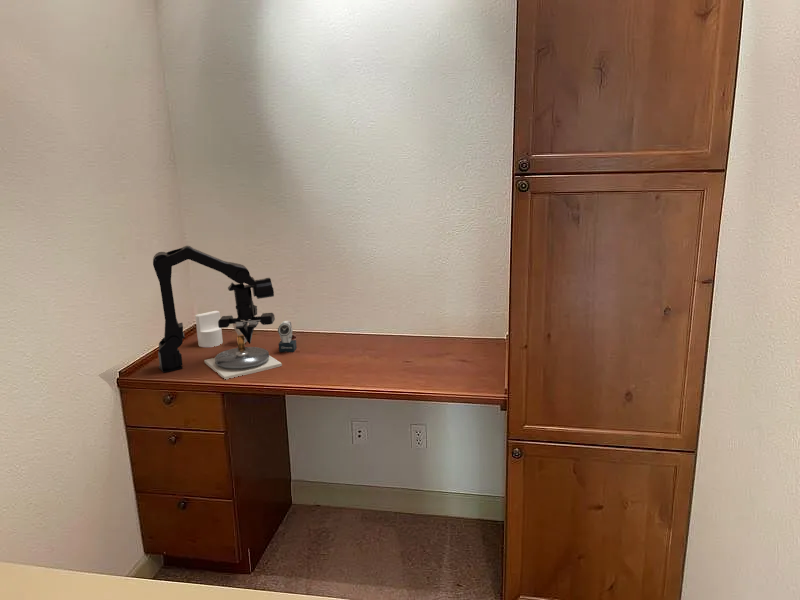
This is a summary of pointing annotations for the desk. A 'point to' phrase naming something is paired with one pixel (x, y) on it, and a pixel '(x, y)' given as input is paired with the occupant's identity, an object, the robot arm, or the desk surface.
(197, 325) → the base with upright slab
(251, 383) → the desk surface
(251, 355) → the handwheel
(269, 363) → the wheel base
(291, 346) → the watch
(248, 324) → the light bulb
